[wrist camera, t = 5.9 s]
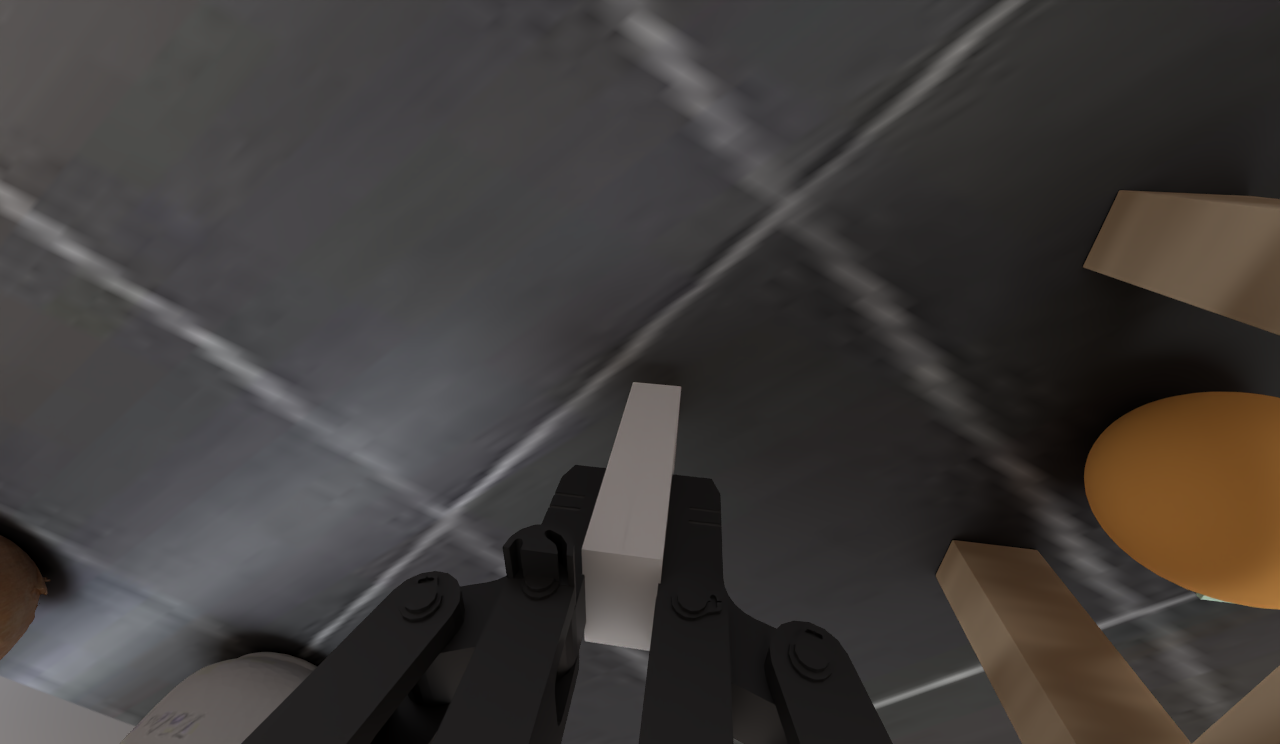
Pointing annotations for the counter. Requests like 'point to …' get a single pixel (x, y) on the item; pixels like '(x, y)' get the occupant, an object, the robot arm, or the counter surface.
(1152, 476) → the ball
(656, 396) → the robot arm
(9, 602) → the onion
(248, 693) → the teacup
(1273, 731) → the bridge
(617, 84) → the counter surface
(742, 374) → the counter surface
